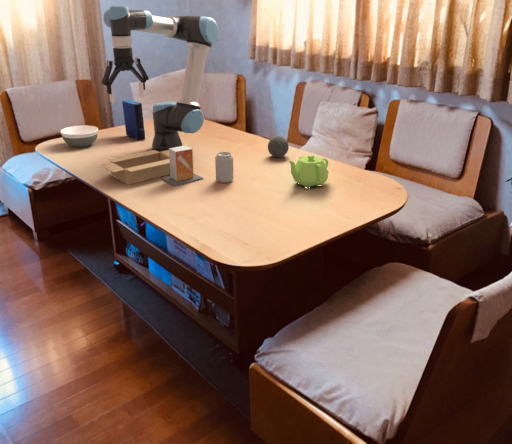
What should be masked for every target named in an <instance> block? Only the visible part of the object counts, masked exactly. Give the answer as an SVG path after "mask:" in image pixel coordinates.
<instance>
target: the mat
mask: <svg viewBox="0 0 512 444" xmlns="http://www.w3.org/2000/svg"><path fill="white" fill-rule="evenodd" d="M193 176H194V178H191V179H185V180H181V181H176V180H174V179H172V178H171V175H167V176H163V177H160V178H161V180H162V181H164V182H166V183H168V184H169V185H171V186H173V187H177V186H181V185H185V184H190V183H194V182H197V181H201V180H204V177H202V176H200V175H198V174H195V172H193Z"/></svg>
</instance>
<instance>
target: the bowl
mask: <svg viewBox="0 0 512 444" xmlns="http://www.w3.org/2000/svg"><path fill="white" fill-rule="evenodd" d="M98 131H99V128H98V126H95V125H71V126H68V127H65V128H62V129H60V131H59V132H60V135H61V137H62V140H63V141H64V142H65V143H66V144H67V145H69V146H71V147H73V148H77V149H78V148H79V149H81V148H87V147H90V146H91V145H92V144H94V143H95V141H96V140H97V138H98Z"/></svg>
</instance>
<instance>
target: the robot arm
mask: <svg viewBox="0 0 512 444" xmlns="http://www.w3.org/2000/svg"><path fill="white" fill-rule="evenodd" d="M103 22H104V24H105V25H106V27H108V28H110V31H111V43H112V46H113V48H112V50H113V52H112V53H113V58H114V59H113V60H108V59H107V61H106V68H105V71H104V74H103V77H102V80H101V85H104V86H106V93H107V94H108V95H109V101H110V102H111V103H116V100H115V91H114V86H113V84H114V82H115V80H116V78H117V76H119V74H120V72H126V71H127V72H128V71H130V72H131V73H133V75H134V76H135V77H136V78H137V79H138V82H137V83H138V91H139V93H138V94H139V98H140V99H145V90H146V82H147V81H149V80H150V78H149V75H148V74H147V72H146V71H145V68H144V66H143V65H142V62H141V58H138V57H135V58H134V57H133V55H134V54H133V47H132V46H133V44H132V31H136V32H141V33H142V32H143V33H144V32H145V33H152V34H159V35H164V36H165V37H167V38H172V39H175V40H179V41H183V42H186V45H187V46H188V51H187V52H188V54H187V59H186V64H185V71H184V76H183V82H182V83H183V84H182V87H181V93H180V99H179V100H177V101H163V102H158V103H155V104H153V106H152V118H153V119H152V120H153V128H154V130H153V131H154V135H153V140H152V143H151V148H152V150H156V151H158V152H161V151H166V150H169V148H175V147H180V146H183V142H182V140H181V137H180V135H179V132H181V133H184V134H195V133H197V132H198V131H200V130H201V129H202V127H203V124H204V122H205V121H204V113H203V112H202V110H201V108H202V107H201V105H200V103H199V100H200V95H201V90H202V89H201V88H202V83H203V77H204V71H205V68H206V67H205V66H206V61H207V55H208V53H209V51H210V50H211V49H212V47H213V46H212V45H213V44H215V43H216V42H217V41H218V40H219V37H220V36H219V35H220V32H219V26H218V24H217V22H216V20H215V19H214V18H212V17H209V16H205V15H201V16H199V15H198V16H197V15H196V16H195V15H179V16H177V15H176V16H175V15H167V16H166V17H164V16H158V15H154V14H152V13H151V11H149V10H147V9H139V10H138V9H129V7H128V6H127V5H112V6H110V7H109V9H106V10H105V12H104V13H103ZM134 64H135V66H136V67H137V69H138V70H137V69H136V68H135V67H134V66H133V65H134ZM114 66H115V67H114ZM113 67H114V69H113ZM112 69H113V71H112ZM138 71H139V72H138Z"/></svg>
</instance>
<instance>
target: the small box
mask: <svg viewBox="0 0 512 444" xmlns="http://www.w3.org/2000/svg"><path fill="white" fill-rule="evenodd" d="M193 155H194V154H193V148H192V147H189V146H188V145H182V146H180V147H175V148H169V158H170V174H169V175H170V176H171V178H172V179H174V180H176V181H181V180H185V179H191V178H194V176H193V173H194V156H193Z"/></svg>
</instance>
